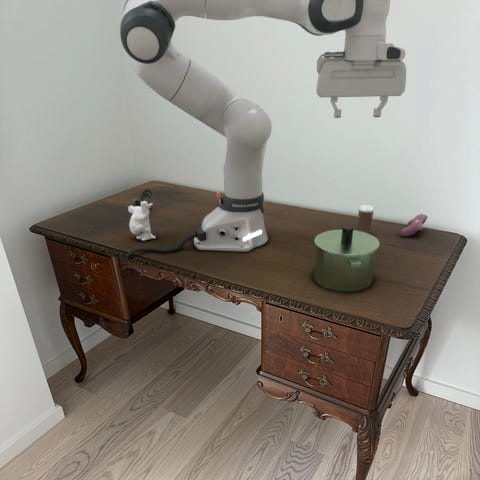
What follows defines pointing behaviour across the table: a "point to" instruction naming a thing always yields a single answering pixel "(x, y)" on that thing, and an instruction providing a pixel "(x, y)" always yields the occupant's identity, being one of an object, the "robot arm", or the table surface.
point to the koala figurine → (141, 221)
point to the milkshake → (365, 218)
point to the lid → (346, 242)
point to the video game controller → (414, 225)
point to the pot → (343, 271)
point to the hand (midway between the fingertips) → (356, 117)
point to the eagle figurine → (143, 198)
